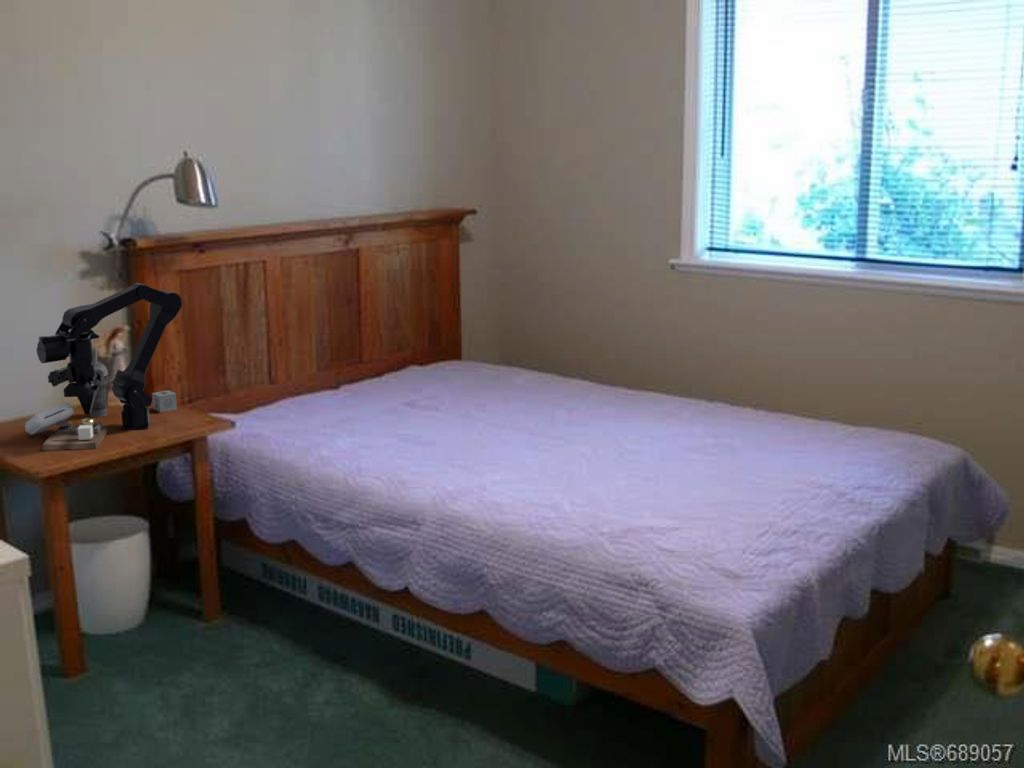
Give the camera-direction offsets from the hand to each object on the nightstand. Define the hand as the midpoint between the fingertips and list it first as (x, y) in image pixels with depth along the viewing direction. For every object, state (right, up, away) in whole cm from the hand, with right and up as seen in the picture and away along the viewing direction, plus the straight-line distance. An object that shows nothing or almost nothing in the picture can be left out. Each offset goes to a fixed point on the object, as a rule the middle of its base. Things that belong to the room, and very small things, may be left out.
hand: (87, 414), depth 292 cm
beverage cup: (-5, -1, +21) cm, 22 cm away
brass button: (0, -3, +1) cm, 3 cm away
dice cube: (+12, 0, +27) cm, 30 cm away
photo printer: (-14, -2, +6) cm, 15 cm away
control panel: (-2, -7, -3) cm, 8 cm away
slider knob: (+2, -6, -6) cm, 9 cm away
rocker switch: (-6, -3, 0) cm, 7 cm away
